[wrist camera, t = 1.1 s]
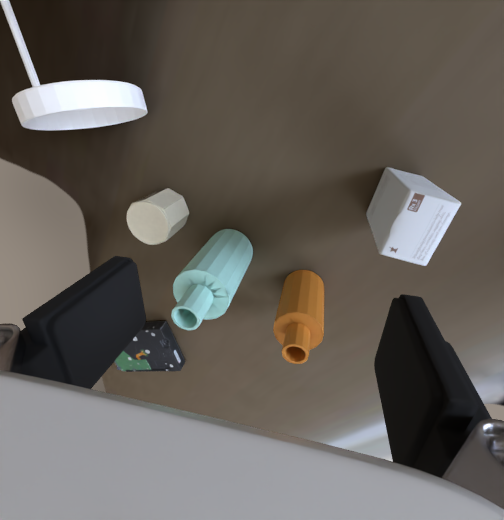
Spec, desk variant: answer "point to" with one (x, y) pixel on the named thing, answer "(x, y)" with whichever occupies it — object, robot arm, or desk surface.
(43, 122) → the desk lamp
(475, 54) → the desk surface
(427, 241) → the cosmetic box
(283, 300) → the amber bottle
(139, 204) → the cream short cylinder
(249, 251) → the bottle
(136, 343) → the disk drive
